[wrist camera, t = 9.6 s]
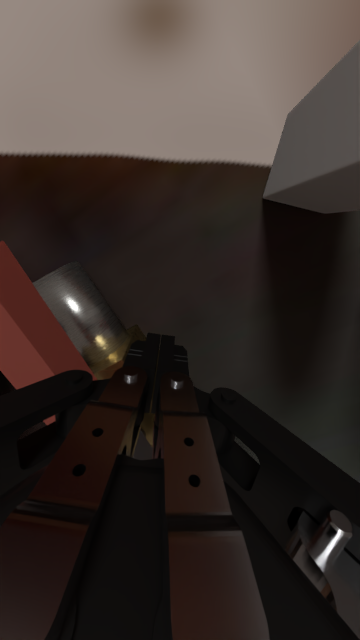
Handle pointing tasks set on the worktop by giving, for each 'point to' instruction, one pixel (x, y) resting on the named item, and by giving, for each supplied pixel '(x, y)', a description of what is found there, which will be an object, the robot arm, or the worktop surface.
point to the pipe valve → (91, 325)
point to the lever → (36, 337)
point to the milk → (322, 145)
